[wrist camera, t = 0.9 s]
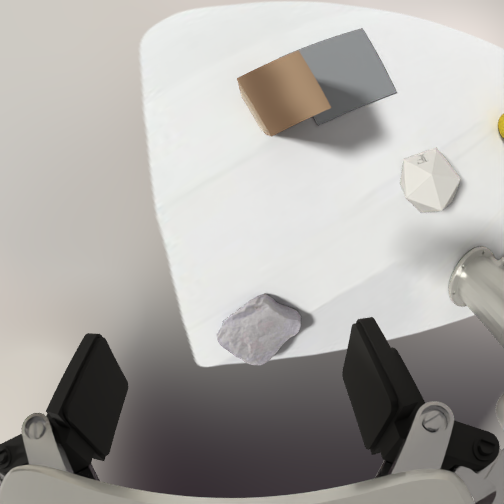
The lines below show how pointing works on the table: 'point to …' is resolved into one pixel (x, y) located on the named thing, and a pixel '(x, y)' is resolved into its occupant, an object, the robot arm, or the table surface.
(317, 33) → the table surface
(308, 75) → the walnut block
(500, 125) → the lemon
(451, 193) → the die
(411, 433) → the robot arm
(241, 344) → the stone block
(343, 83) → the pad
